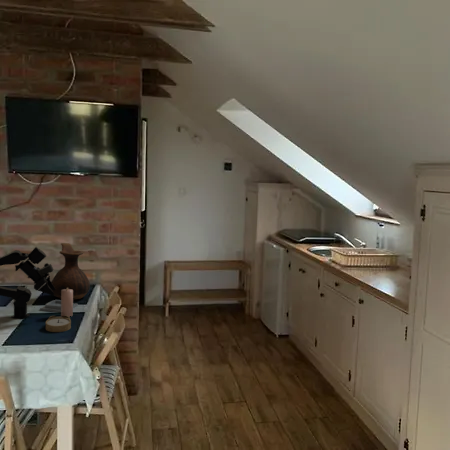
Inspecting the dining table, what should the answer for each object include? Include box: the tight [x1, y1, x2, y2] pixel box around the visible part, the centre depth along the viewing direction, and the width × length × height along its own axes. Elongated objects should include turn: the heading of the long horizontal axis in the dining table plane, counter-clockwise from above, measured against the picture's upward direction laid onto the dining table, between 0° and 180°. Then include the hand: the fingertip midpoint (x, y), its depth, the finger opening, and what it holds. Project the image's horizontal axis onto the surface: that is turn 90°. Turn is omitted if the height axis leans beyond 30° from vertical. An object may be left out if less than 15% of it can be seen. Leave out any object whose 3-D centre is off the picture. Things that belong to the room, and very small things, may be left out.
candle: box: [60, 288, 74, 318], centre depth 253 cm, size 6×6×14 cm
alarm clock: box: [45, 315, 72, 333], centre depth 236 cm, size 11×5×15 cm
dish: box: [39, 299, 79, 313], centre depth 267 cm, size 14×14×3 cm
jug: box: [51, 242, 91, 301], centre depth 287 cm, size 22×22×30 cm
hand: (54, 292), depth 251 cm, fingers open, 9 cm apart
